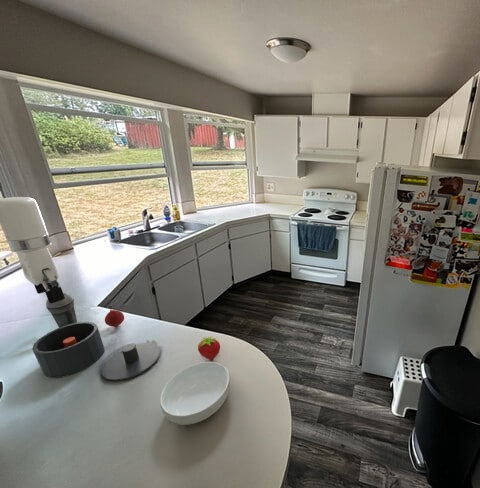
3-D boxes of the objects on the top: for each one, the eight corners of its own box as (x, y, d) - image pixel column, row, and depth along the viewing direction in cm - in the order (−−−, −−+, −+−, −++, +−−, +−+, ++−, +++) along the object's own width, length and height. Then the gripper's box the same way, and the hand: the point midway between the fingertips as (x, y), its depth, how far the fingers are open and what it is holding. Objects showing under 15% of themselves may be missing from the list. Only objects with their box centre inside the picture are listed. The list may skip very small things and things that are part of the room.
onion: (124, 319, 103) (120, 303, 100) (127, 326, 99) (122, 309, 96) (106, 326, 99) (101, 308, 96) (108, 333, 95) (102, 315, 92)
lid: (116, 390, 73) (111, 374, 71) (92, 368, 80) (87, 353, 78) (170, 356, 86) (167, 341, 84) (145, 339, 93) (142, 325, 91)
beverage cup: (80, 320, 101) (64, 276, 95) (85, 328, 97) (69, 282, 91) (54, 330, 96) (36, 284, 89) (59, 338, 92) (40, 290, 85)
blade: (62, 368, 79) (54, 349, 76) (58, 363, 81) (50, 345, 78) (92, 352, 85) (86, 334, 83) (88, 348, 87) (81, 331, 84)
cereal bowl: (199, 447, 60) (194, 426, 57) (149, 421, 65) (143, 401, 63) (243, 388, 75) (242, 370, 72) (200, 371, 80) (197, 354, 78)
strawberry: (213, 369, 81) (210, 345, 78) (195, 363, 83) (191, 338, 80) (226, 356, 86) (223, 333, 83) (208, 350, 89) (205, 327, 85)
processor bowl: (53, 385, 74) (42, 360, 70) (36, 365, 80) (25, 341, 77) (112, 354, 86) (105, 331, 82) (93, 338, 92) (85, 316, 89)
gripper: (0, 240, 70) (23, 293, 76) (20, 253, 62) (43, 311, 68) (39, 233, 76) (57, 283, 82) (61, 244, 68) (79, 298, 74)
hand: (51, 296), depth 75 cm, fingers open, 9 cm apart
